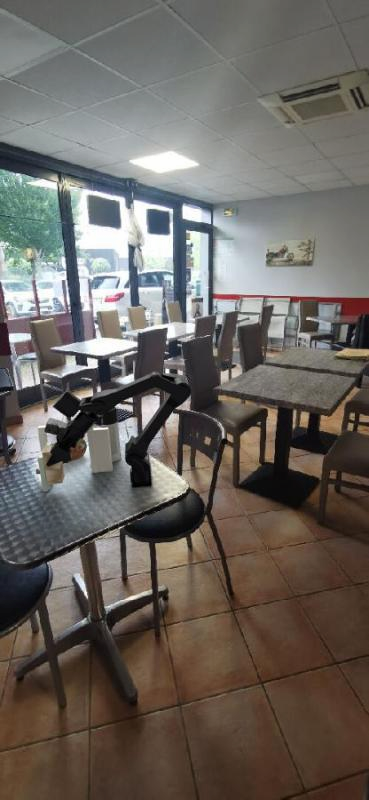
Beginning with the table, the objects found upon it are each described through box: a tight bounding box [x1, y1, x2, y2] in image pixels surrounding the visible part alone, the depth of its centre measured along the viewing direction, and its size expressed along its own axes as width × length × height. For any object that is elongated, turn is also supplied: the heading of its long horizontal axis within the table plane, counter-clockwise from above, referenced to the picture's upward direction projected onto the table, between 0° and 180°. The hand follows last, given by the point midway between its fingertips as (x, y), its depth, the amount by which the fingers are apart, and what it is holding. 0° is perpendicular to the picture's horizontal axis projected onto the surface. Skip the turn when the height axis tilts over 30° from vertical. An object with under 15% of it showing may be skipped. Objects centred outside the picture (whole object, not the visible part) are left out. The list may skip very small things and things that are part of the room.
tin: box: [52, 438, 88, 465], centre depth 148 cm, size 15×3×8 cm, turn 132°
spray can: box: [99, 406, 122, 463], centre depth 146 cm, size 7×7×20 cm
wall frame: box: [37, 425, 114, 474], centre depth 137 cm, size 23×2×18 cm, turn 93°
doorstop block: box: [42, 445, 66, 485], centre depth 126 cm, size 4×5×11 cm
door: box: [35, 441, 54, 492], centre depth 132 cm, size 12×3×12 cm, turn 3°
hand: (48, 461), depth 125 cm, fingers closed on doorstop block, 5 cm apart
